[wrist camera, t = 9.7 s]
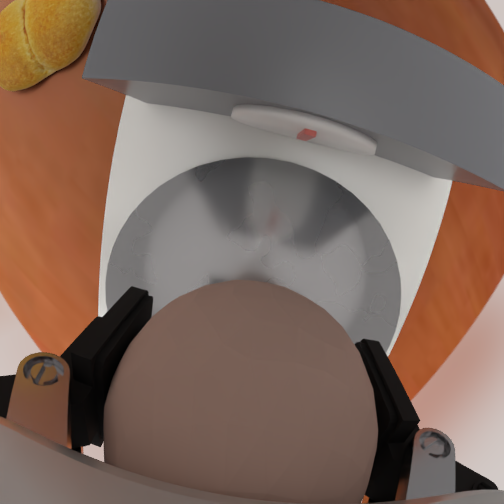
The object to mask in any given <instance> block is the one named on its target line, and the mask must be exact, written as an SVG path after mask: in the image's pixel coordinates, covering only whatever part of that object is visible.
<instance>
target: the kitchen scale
mask: <svg viewBox="0 0 504 504" xmlns="http://www.w3.org/2000/svg"><path fill="white" fill-rule="evenodd" d="M82 78H83V79H85V80H88V81H91V82H94V83H96V84H99V85H102V86H105V87H107V88H110V89H112V90H115V91H118V92H120V93H123V94H125V95H126V98H125V102H124V106H123V111H122V115H121V120H120V124H119V129H118V134H117V139H116V144H115V149H114V155H113V160H112V166H111V172H110V179H109V185H108V192H107V200H106V208H105V216H104V225H103V235H102V247H101V260H100V277H99V304H98V316H100V317H103V316H104V315H105V314H106V312H107V305H106V292H105V281H106V273H107V266H108V262H109V258H110V254H111V251H112V247H113V245H114V243H115V241H116V238H117V236H118V234H119V232H120V230H121V228H122V227H123V225H124V224H125V222H126V221H127V219H128V217H129V216H130V214H131V213H132V212H133V211H134V210H135V209H136V207H137V206H138V205H139V204H140V203H141V202H142V201H143V200H144V199H145V198H146V197H147V196H148V195H149V194H151V193H152V192H153V191H154V190H155V189H157V188H158V187H159V186H160V185H162V184H163V183H165V182H167V181H168V180H170V179H172V178H173V177H175V176H177V175H178V174H180V173H183V172H185V171H188V170H190V169H192V168H195V167H197V166H200V165H203V164H207V163H211V162H215V161H219V160H225V159H234V158H243V157H251V158H270V159H276V160H281V161H287V162H292V163H295V164H298V165H301V166H304V167H307V168H310V169H313V170H315V171H317V172H319V173H321V174H323V175H325V176H327V177H329V178H331V179H333V180H335V181H336V182H337V183H339V184H340V185H342V186H343V187H345V188H346V189H347V190H349V191H350V192H352V193H353V194H354V195H355V196H356V197H357V198H358V199H359V200H360V201H361V202H362V203H363V204H364V205H365V206H366V207H367V208H368V209H369V210H370V211H371V213H372V214H373V215H374V217H375V218H376V219H377V221H378V222H379V223H380V224H381V226H382V228H383V230H384V232H385V233H386V235H387V237H388V239H389V241H390V243H391V246H392V248H393V251H394V254H395V257H396V259H397V264H398V269H399V273H400V279H401V306H400V315H399V319H398V323H397V327H396V331H395V334H394V336H393V339H392V341H391V344H390V346H389V348H388V350H387V352H386V355H387V357H388V356H389V354H390V352H391V350H392V348H393V346H394V343H395V341H396V339H397V337H398V335H399V333H400V330H401V328H402V326H403V324H404V322H405V319H406V317H407V315H408V312H409V310H410V308H411V305H412V303H413V300H414V298H415V295H416V293H417V290H418V288H419V285H420V283H421V280H422V277H423V275H424V272H425V269H426V267H427V264H428V261H429V258H430V255H431V252H432V249H433V246H434V243H435V240H436V237H437V234H438V231H439V228H440V224H441V221H442V218H443V214H444V211H445V207H446V204H447V200H448V196H449V193H450V189H451V185H452V181H457V182H462V183H467V184H472V185H477V186H482V187H486V188H491V189H495V190H500V191H504V85H502V84H501V83H499V82H498V81H497V80H495V79H494V78H492V77H490V76H489V75H487V74H486V73H484V72H483V71H481V70H479V69H478V68H476V67H475V66H473V65H471V64H470V63H468V62H466V61H464V60H463V59H461V58H459V57H457V56H456V55H454V54H452V53H450V52H448V51H447V50H445V49H443V48H441V47H439V46H437V45H435V44H433V43H431V42H429V41H427V40H425V39H423V38H421V37H418V36H416V35H414V34H412V33H410V32H407V31H405V30H403V29H401V28H398V27H396V26H393V25H391V24H388V23H386V22H383V21H381V20H378V19H376V18H373V17H370V16H367V15H365V14H362V13H359V12H356V11H353V10H350V9H347V8H344V7H340V6H337V5H334V4H330V3H327V2H323V1H319V0H108V1H107V3H106V6H105V8H104V11H103V13H102V16H101V19H100V22H99V24H98V27H97V30H96V33H95V36H94V39H93V42H92V45H91V48H90V51H89V54H88V58H87V61H86V65H85V68H84V72H83V75H82Z"/></svg>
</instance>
